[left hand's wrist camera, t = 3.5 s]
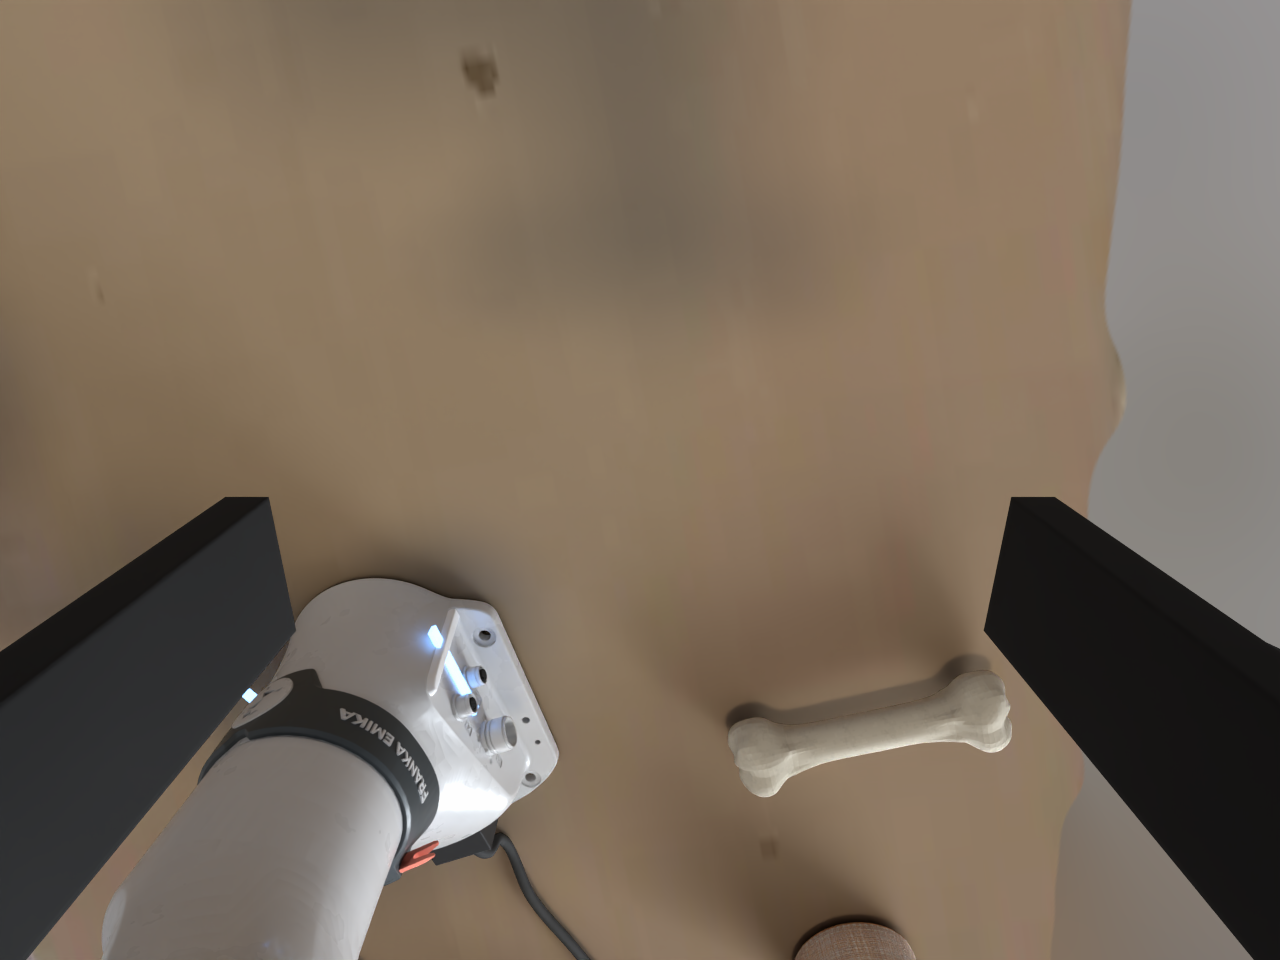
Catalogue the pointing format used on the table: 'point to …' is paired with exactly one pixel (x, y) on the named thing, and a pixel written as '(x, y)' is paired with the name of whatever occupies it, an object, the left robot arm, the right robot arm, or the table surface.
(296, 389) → the table surface
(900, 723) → the dog toy
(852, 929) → the planter
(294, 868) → the right robot arm
